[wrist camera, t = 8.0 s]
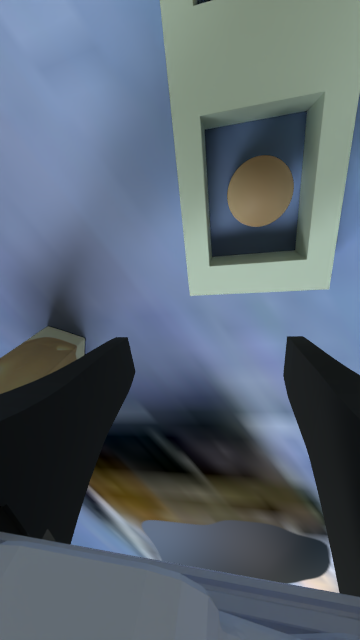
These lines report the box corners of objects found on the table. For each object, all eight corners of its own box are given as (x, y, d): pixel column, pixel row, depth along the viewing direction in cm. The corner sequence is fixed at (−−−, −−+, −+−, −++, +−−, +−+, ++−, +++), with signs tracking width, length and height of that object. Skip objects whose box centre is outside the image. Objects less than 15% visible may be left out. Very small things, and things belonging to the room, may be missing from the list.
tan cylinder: (280, 160, 16) (296, 149, 12) (277, 218, 17) (290, 223, 14) (226, 168, 16) (226, 160, 13) (228, 223, 18) (228, 229, 14)
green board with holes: (403, -439, 8) (490, -752, 5) (314, 275, 18) (329, 289, 16) (142, -293, 10) (111, -472, 7) (194, 282, 20) (190, 295, 17)
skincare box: (83, 381, 27) (-10, 500, 17) (47, 370, 28) (-68, 480, 17) (86, 334, 24) (-25, 443, 14) (46, 322, 25) (-95, 419, 14)
